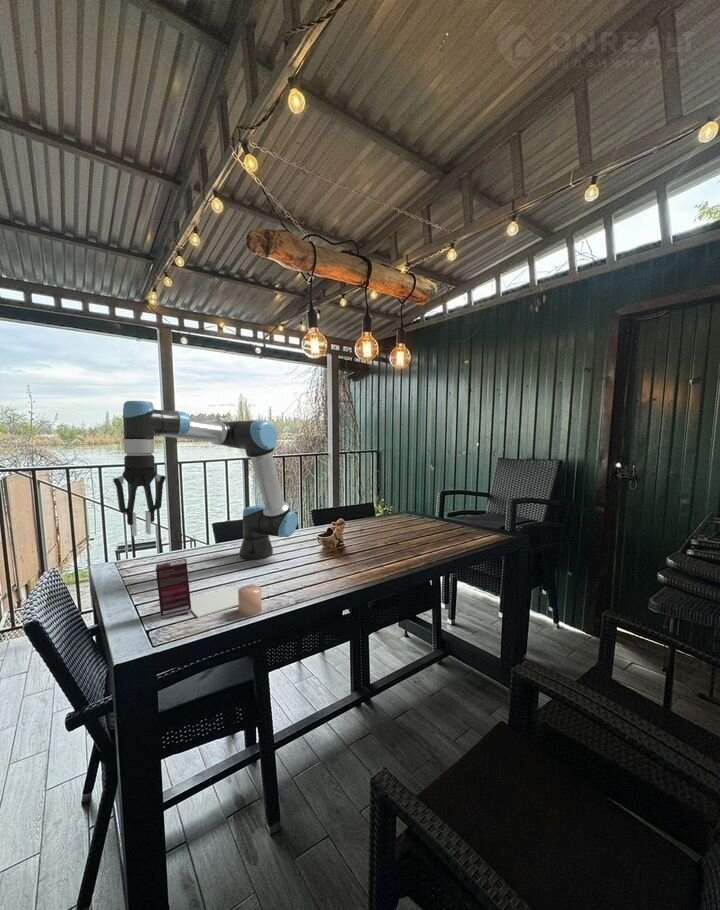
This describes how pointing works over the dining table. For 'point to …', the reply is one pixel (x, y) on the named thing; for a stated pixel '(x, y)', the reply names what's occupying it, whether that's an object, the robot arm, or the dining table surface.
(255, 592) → the peach pillar candle
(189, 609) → the supplement box
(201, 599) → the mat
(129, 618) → the dining table surface
